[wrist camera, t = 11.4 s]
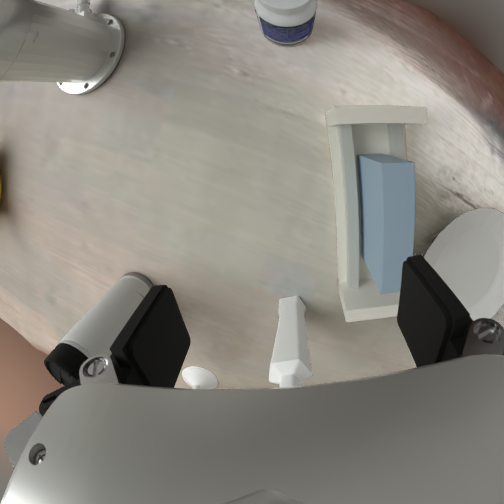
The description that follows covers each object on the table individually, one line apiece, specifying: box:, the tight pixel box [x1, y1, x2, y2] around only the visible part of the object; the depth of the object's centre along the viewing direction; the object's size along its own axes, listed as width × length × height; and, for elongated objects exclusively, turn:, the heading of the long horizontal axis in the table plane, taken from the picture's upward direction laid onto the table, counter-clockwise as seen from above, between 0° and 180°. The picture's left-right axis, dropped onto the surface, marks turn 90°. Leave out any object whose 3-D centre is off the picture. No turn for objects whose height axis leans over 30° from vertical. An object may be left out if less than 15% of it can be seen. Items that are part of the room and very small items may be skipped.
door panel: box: [357, 154, 415, 294], centre depth 26 cm, size 12×3×9 cm, turn 9°
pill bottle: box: [254, 0, 317, 47], centre depth 19 cm, size 6×6×10 cm
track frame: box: [325, 106, 428, 322], centre depth 28 cm, size 22×9×7 cm, turn 9°
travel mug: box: [44, 272, 153, 386], centre depth 31 cm, size 6×7×20 cm
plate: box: [424, 208, 504, 321], centre depth 32 cm, size 21×21×2 cm
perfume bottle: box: [269, 296, 313, 387], centre depth 31 cm, size 5×4×15 cm
